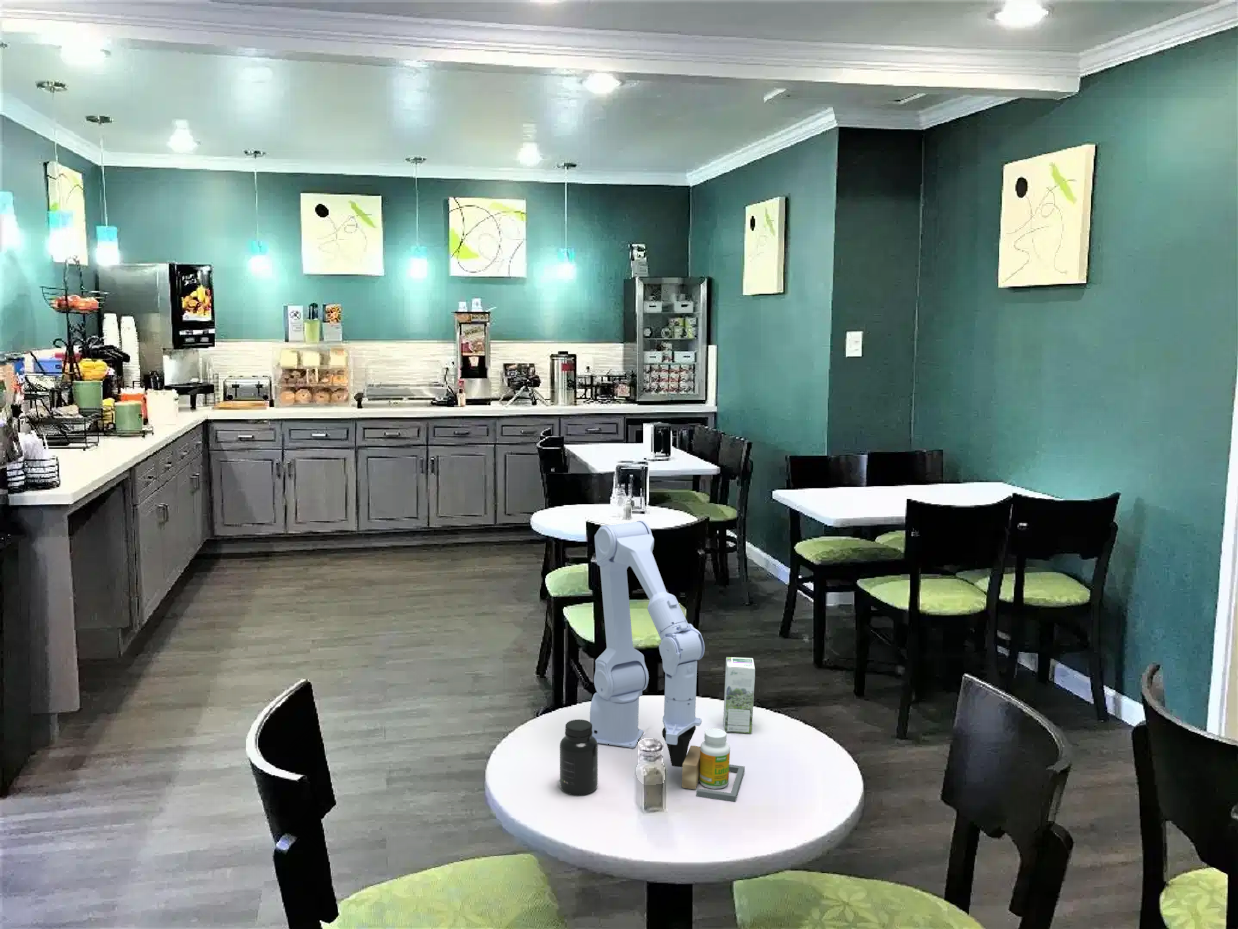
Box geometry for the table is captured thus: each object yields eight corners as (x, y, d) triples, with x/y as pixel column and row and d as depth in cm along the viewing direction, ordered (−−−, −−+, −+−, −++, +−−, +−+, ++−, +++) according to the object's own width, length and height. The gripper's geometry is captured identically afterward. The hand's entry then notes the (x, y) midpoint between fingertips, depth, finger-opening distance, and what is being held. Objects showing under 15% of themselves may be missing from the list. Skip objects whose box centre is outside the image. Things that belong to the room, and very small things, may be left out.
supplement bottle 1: (579, 774, 186) (580, 713, 184) (605, 788, 181) (606, 725, 179) (551, 786, 181) (552, 723, 179) (576, 800, 176) (578, 736, 175)
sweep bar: (681, 787, 182) (682, 764, 181) (690, 768, 189) (690, 745, 188) (695, 789, 181) (696, 766, 180) (703, 769, 189) (703, 747, 188)
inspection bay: (696, 796, 179) (696, 791, 179) (707, 766, 190) (707, 761, 190) (735, 801, 177) (735, 796, 177) (744, 771, 189) (744, 766, 189)
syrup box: (750, 722, 211) (753, 656, 208) (752, 734, 205) (755, 667, 202) (723, 721, 211) (725, 655, 209) (724, 733, 205) (726, 665, 203)
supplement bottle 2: (715, 792, 180) (717, 741, 179) (692, 782, 184) (694, 732, 183) (734, 783, 184) (736, 733, 182) (712, 773, 188) (714, 724, 186)
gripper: (694, 713, 175) (691, 786, 177) (708, 683, 189) (706, 751, 191) (655, 708, 177) (653, 780, 179) (672, 679, 191) (669, 746, 193)
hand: (677, 765), depth 185 cm, fingers closed, pressing on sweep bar
